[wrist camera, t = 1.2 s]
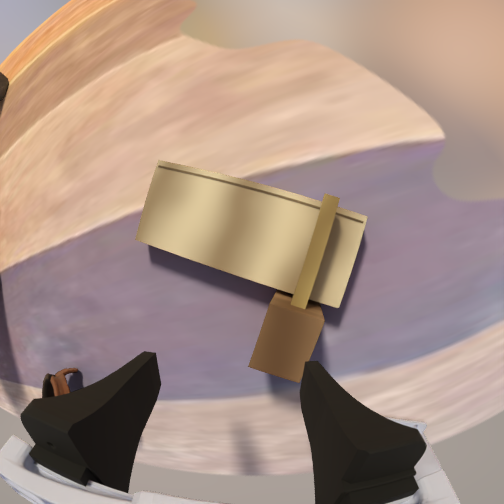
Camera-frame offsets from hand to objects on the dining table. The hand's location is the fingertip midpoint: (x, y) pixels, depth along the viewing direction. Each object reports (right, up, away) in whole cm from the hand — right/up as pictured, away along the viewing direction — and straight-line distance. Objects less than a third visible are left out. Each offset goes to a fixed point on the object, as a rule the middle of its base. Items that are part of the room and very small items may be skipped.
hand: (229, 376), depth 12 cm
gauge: (+5, +4, +9) cm, 11 cm away
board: (+1, +8, +10) cm, 13 cm away
